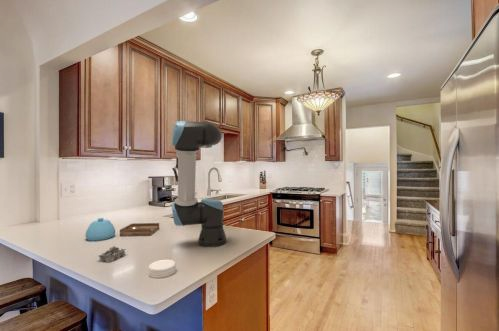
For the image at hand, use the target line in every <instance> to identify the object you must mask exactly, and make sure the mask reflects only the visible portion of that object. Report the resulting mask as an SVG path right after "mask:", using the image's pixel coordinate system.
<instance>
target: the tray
mask: <svg viewBox="0 0 499 331" xmlns="http://www.w3.org/2000/svg"><path fill="white" fill-rule="evenodd" d="M133 227H136V228H137V229H132V228H133ZM159 230H160V222H153V223H151V222H148V223H142V222H140V223H139V222H138V223H130V224H128V225H125V226H124V227H122V228H121V229H119V237H150V236H152V235H154V234H155V233H156V232H157V231H159Z"/></svg>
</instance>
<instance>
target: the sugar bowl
mask: <svg viewBox="0 0 499 331" xmlns="http://www.w3.org/2000/svg"><path fill="white" fill-rule="evenodd" d="M115 234H116V229H115V226H114V224H113V223H112V222H111V220H108V219H104V218H103V217H99V218H97V220H94V221H92V222H91V223H90V224H89V226H88V227H87V228H86V231H85V235H84V236H85V239H87V240H88V241H90V242H99V241H105V239H106V240H108V239H112V238H113V237H114V236H115ZM111 237H112V238H111Z"/></svg>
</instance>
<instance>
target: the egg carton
mask: <svg viewBox="0 0 499 331" xmlns="http://www.w3.org/2000/svg"><path fill="white" fill-rule="evenodd" d="M126 250H127V249H126V248H124V249H123V248H121V249H120V248H119V247H117V246H116V245H113V246H112V247H110V248H109V249H108V250H106V251H105V252H102V253H101V254H99V255H97V257H98V258H99V262H100V263H102V262H105V263H113V262H114V261H115V260H118V259H120V258H121V257H125V256H126Z"/></svg>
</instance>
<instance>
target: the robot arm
mask: <svg viewBox="0 0 499 331" xmlns="http://www.w3.org/2000/svg"><path fill="white" fill-rule="evenodd" d="M222 138H223V133H222V130H221V129H220V128H219V127H218V126H217V125H215V124H213V123H211V122H207V121H204V122H203V121H190V120H189V121H188V120H177V121H175V122H174V125H173V130H172V136H171V145H172V146H174V150H175V153H176V154H175V156H176V160H175V162H176V163H175V167H172V168H171V169H172V171H173V175H174V178H175V181H176V182H177V198H175V200H174V203H172V204H171V212H172V218H173V224H174V225H175V226H177V227H180V226H183V227H184V226H193V225H195V226H197V225H201V227H200V228H201V229H200V233H199V236H198V239H197V241H198V242H197V243H198V245H200V246H202V247H210V248H211V247H219V246H223V245H225V244H226V243H227V236H226V232H225V229H224V204H223V201H221V200H218V199H211V198H202V199H201V200H200V201H199V199H198V198H197V197H196V170H197V167H196V166H197V153H198V152H199V151H200V148H201V149H202V148H203V149H204V148H206V149H207V148H208V149H209V148H212V147H213V146H216V145H218V144H219V143H221V140H222Z"/></svg>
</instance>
